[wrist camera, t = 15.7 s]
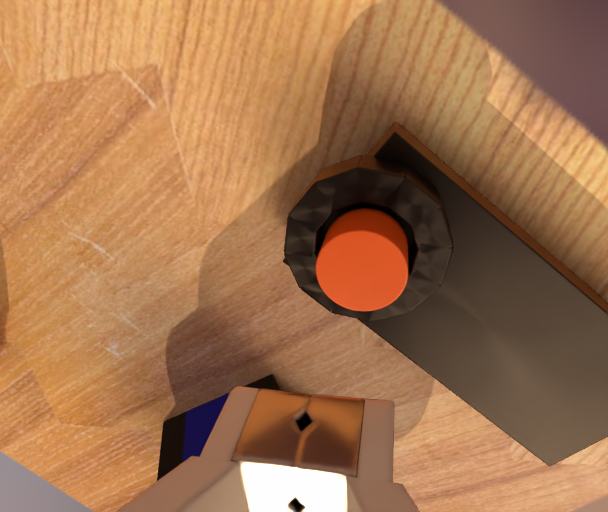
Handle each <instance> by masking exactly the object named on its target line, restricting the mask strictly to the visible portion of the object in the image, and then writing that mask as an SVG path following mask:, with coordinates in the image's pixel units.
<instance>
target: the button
mask: <svg viewBox="0 0 608 512" xmlns="http://www.w3.org/2000/svg"><path fill="white" fill-rule="evenodd" d="M316 276H317V280H318V282H319V285H320V286H321V288H322V290H323V291H324V293H325V294H326V295H327V296H328V297H329V298H330V299H331V300H332V301H334V302H335V303H337V304H338V305H340V306H342V307H345V308H347V309H351V310H356V311H373V310H377V309H381V308H383V307H386V306H387V305H389V304H391V303H392V302H393V301H395V300H396V299H397V298H398V297H399V296H400V295H401V293H402V292H403V290H404V288H405V286H406V283H407V280H408V242H407V237H406V234H405V232H404V230H403V228H402V227H401V225H400V224H399V223H398V222H397V221H396V220H395V219H394V218H393V217H391V216H390V215H388V214H387V213H385V212H382V211H380V210H376V209H370V208H360V209H354V210H351V211H348V212H346V213H344V214H342V215H341V216H339V217H338V218H337V219H336V220H335V221H334V222H333V223H332V224H331V226H330V228H329V229H328V232H327V234H326V237H325V239H324V242H323V244H322V247H321V250H320V252H319V255H318V257H317V261H316Z"/></svg>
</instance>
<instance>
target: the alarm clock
mask: <svg viewBox="0 0 608 512" xmlns="http://www.w3.org/2000/svg"><path fill="white" fill-rule="evenodd" d="M244 387H249V388H257V389H270V390H279V391H280V389H279V387H278V385H277V383H276V380H275V378H274V376H273V374H272V375H269V376H267V377H265V378H263V379H260V380H258V381H256V382H254V383H251V384H249V385H247V386H244ZM229 394H230V393H228V394H226V395H224V396H222V397H219V398H217V399H215V400H212V401H210V402H208V403H206V404H203V405H201V406H199V407H196V408H194V409H192V410H190V411H187V412H185V413H183V414H180V415H178V416H176V417H174V418H171V419H169V420H167V421H164V423H163V432H162V441H161V450H160V459H159V468H158V477H157V481H158V480H160V479H161V478H162V477H164V476H165V475H166V474H168V473H169V472H171V471H172V470H173V469H175V468H176V467H177V466H179V465H180V464H181V463H183V462H184V461H185V460H187V459H188V458H190V457H191V456H197V457H200V455H201V453H202V450H203V448H204V446H205V444H206V442H207V440H208V438H209V436H210V434H211V432H212V430H213V427H214V425H215V423H216V421H217V419H218V417H219V415H220V413H221V411H222V409H223V407H224V405H225V402H226V400H227V398H228V396H229Z"/></svg>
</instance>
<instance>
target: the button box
mask: <svg viewBox="0 0 608 512" xmlns="http://www.w3.org/2000/svg"><path fill="white" fill-rule="evenodd" d="M360 208H370V209H376V210H380V211H382V212H385V213H387V214H388V215H390V216H391V217H393V218H394V219H395V220H396V221H397V222H398V223H399V224H400V225H401V227H402V228H403V230H404V232H405V234H406V237H407V242H408V280H407V283H406V286H405V288H404V290H403V292H402V293H401V295H400V296H399V297H398V298H397V299H396V300H395V301H393V302H392V303H391V304H389V305H387V306H386V307H383V308H381V309H377V310H373V311H356V310H351V309H347V308H345V307H342V306H340V305H338V304H337V303H335V302H334V301H332V300H331V299H330V298H329V297H328V296H327V295H326V294H325V293H324V291H323V290H322V288H321V286H320V285H319V282H318V280H317V276H316V261H317V257H318V255H319V252H320V250H321V247H322V244H323V242H324V239H325V237H326V234H327V232H328V229H329V228H330V226H331V224H332V223H333V222H334V221H335V220H336V219H337V218H338V217H339V216H341V215H342V214H344V213H346V212H348V211H351V210H354V209H360ZM284 256H285V258H284V260H283V262H284V263H285V264H287V265H288V266H289V267H290V269H291V271H292V273H293V275H294V277H295V279H296V281H297V284H298V286H299V288H301V289H302V290H303V291H304V292H305V293H307V294H308V295H309V296H311V297H312V298H313V299H314V300H316V301H317V302H318V303H320V304H321V305H322V306H324V307H325V308H326V309H328V310H329V311H332V313H334V314H339V315H344V316H348V317H353V318H357V319H358V320H360V321H361V322H362V323H364V324H365V325H366V326H367V327H369V328H370V329H371V330H373V331H374V332H375V333H377V334H378V335H379V336H380V337H382V338H383V339H384V340H386V341H387V342H388V343H390V344H391V345H392V346H393V347H395V348H396V349H397V350H399V351H400V352H401V353H403V354H404V355H405V356H406V357H408V358H409V359H410V360H412V361H413V362H414V363H416V364H417V365H418V366H419V367H421V368H422V369H423V370H425V371H426V372H427V373H429V374H430V375H431V376H432V377H434V378H435V379H436V380H438V381H439V382H440V383H442V384H443V385H444V386H445V387H447V388H448V389H449V390H451V391H452V392H453V393H455V394H456V395H457V396H459V397H460V398H461V399H462V400H464V401H465V402H466V403H468V404H469V405H470V406H472V407H473V408H474V409H475V410H477V411H478V412H479V413H481V414H482V415H483V416H485V417H486V418H487V419H488V420H490V421H491V422H492V423H494V424H495V425H496V426H498V427H499V428H500V429H501V430H503V431H504V432H505V433H507V434H508V435H509V436H511V437H512V438H513V439H514V440H516V441H517V442H518V443H520V444H521V445H522V446H524V447H525V448H526V449H527V450H529V451H530V452H531V453H533V454H534V455H535V456H537V457H538V458H539V459H540V460H542V461H543V462H544V463H546V464H547V465H548V466H551V465H553V464H555V463H557V462H559V461H561V460H563V459H565V458H567V457H569V456H571V455H573V454H575V453H577V452H579V451H581V450H583V449H585V448H587V447H588V446H590V445H592V444H594V443H596V442H598V441H600V440H602V439H604V438H606V437H608V302H607V301H606V300H604V299H603V298H602V297H601V296H600V295H599V294H597V293H596V292H595V291H594V290H593V289H592V288H590V287H589V286H588V285H587V284H586V283H585V282H583V281H582V280H581V279H580V278H579V277H578V276H576V275H575V274H574V273H573V272H572V271H571V270H569V269H568V268H567V267H566V266H565V265H564V264H562V263H561V262H560V261H559V260H558V259H557V258H555V257H554V256H553V255H552V254H551V253H549V252H548V251H547V250H546V249H545V248H544V247H542V246H541V245H540V244H539V243H538V242H537V241H535V240H534V239H533V238H532V237H531V236H530V235H528V234H527V233H526V232H525V231H524V230H523V229H521V228H520V227H519V226H518V225H517V224H516V223H514V222H513V221H512V220H511V219H510V218H509V217H507V216H506V215H505V214H504V213H503V212H502V211H500V210H499V209H498V208H497V207H496V206H495V205H493V204H492V203H491V202H490V201H489V200H488V199H486V198H485V197H484V196H483V195H482V194H481V193H479V192H478V191H477V190H476V189H475V188H474V187H472V186H471V185H470V184H469V183H468V182H467V181H465V180H464V179H463V178H462V177H461V176H460V175H458V174H457V173H456V172H455V171H454V170H453V169H451V168H450V167H449V166H448V165H447V164H446V163H444V162H443V161H442V160H441V159H440V158H439V157H437V156H436V155H435V154H434V153H433V152H432V151H430V150H429V149H428V148H427V147H426V146H425V145H423V144H422V143H421V142H420V141H419V140H417V139H416V138H415V137H414V136H413V135H412V134H410V133H409V132H408V131H407V130H406V129H405V128H403V127H402V126H401V125H400V124H399V123H398V122H394V124H393V125H392V126H391V127H390V128H389V129H388V131H387V132H386V133H385V134H384V135H383V136H382V138H381V139H380V140H379V141H378V142H377V143H376V145H375V146H374V147H373V148H372V149H371V150H370V152H369V153H368V154H367V155H359V156H357V157H354V158H351V159H349V160H346V161H343V162H340V163H338V164H335V165H332V166H329V167H327V168H324V169H323V170H321V171H320V172H319V174H318V175H317V176H316V177H315V178H314V180H313V181H312V182H311V183H310V185H309V186H308V187H307V188H306V190H305V191H304V192H303V193H302V195H301V196H300V197H299V198H298V200H297V201H296V203H295V204H294V206H293V208H292V209H291V211H290V212H289V214H288V218H287V227H286V236H285V245H284Z"/></svg>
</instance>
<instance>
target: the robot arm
mask: <svg viewBox="0 0 608 512" xmlns="http://www.w3.org/2000/svg"><path fill="white" fill-rule="evenodd" d="M393 446H394V402H393V401H388V400H376V399H366V400H365V399H363V398H351V397H340V396H328V395H316V394H303V393H295V392H287V391H279V390H270V389H257V388H249V387H241V386H236V387H235V388H234V389H233V390H232V391H231V392H230V394H229V396H228V398H227V400H226V402H225V405H224V407H223V409H222V411H221V413H220V415H219V417H218V419H217V421H216V423H215V425H214V427H213V430H212V432H211V434H210V436H209V438H208V440H207V442H206V444H205V446H204V448H203V450H202V453H201V455H200V457H197V456H191V457H190V458H188V459H187V460H185V461H184V462H183V463H181V464H180V465H179V466H177V467H176V468H175V469H173V470H172V471H171V472H169V473H168V474H166V475H165V476H164V477H162V478H161V479H160V480H158V481H157V482H156V483H154V484H153V485H152V486H150V487H149V488H147V489H146V490H145V491H143V492H142V493H141V494H139V495H138V496H137V497H135V498H134V499H133V500H131V501H130V502H128V503H127V504H126V505H124V506H123V507H122V508H120V509H119V510H118V511H116V512H420V511H419V510H418V508H417V507H416V505H415V503H414V502H413V500H412V499H411V497H410V496H409V494H408V493H407V491H406V489H405V488H404V486H403V485H402V484H400V483H394V482H393Z"/></svg>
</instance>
